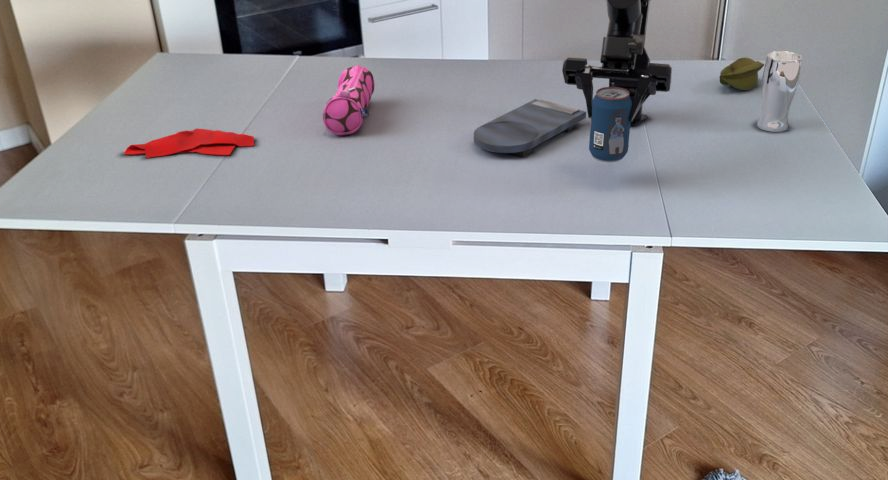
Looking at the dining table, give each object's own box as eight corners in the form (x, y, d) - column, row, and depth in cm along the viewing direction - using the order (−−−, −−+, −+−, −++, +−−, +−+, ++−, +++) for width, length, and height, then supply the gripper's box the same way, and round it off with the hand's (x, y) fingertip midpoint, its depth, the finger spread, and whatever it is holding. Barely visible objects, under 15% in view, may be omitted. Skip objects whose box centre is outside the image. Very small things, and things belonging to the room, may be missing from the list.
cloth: (261, 130, 193) (260, 120, 192) (248, 156, 181) (247, 146, 180) (141, 132, 194) (139, 122, 193) (120, 158, 182) (118, 148, 181)
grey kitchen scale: (534, 111, 198) (535, 97, 196) (585, 125, 191) (586, 110, 189) (460, 149, 181) (460, 134, 180) (513, 165, 174) (513, 149, 172)
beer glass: (749, 121, 190) (760, 51, 182) (781, 119, 190) (794, 49, 183) (762, 133, 184) (774, 62, 176) (795, 132, 185) (809, 60, 177)
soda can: (603, 144, 167) (608, 82, 161) (635, 154, 163) (641, 91, 157) (580, 156, 163) (584, 93, 157) (612, 167, 159) (617, 102, 153)
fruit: (771, 94, 204) (776, 65, 200) (718, 95, 204) (722, 67, 200) (756, 77, 213) (761, 50, 210) (705, 78, 214) (709, 51, 210)
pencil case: (370, 137, 188) (367, 91, 183) (324, 138, 188) (319, 92, 183) (379, 101, 206) (376, 58, 201) (337, 102, 207) (333, 59, 201)
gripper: (566, 12, 156) (552, 95, 153) (677, 18, 151) (664, 104, 148) (572, 43, 166) (558, 121, 163) (675, 49, 162) (663, 130, 158)
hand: (609, 119), depth 158 cm, fingers closed on soda can, 7 cm apart
